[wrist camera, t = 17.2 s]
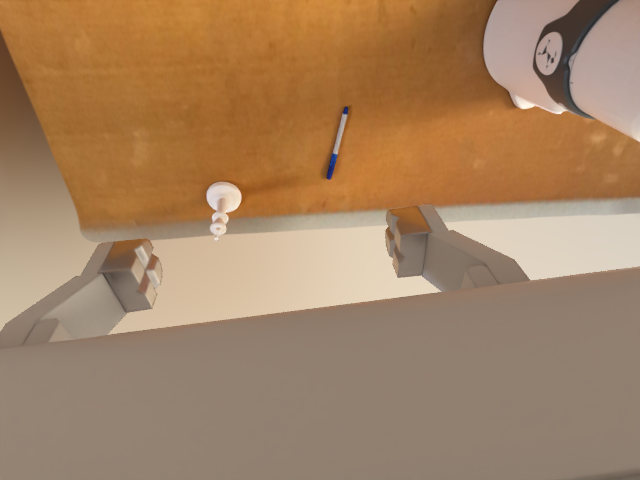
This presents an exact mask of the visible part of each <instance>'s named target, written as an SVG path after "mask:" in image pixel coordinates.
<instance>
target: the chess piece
mask: <svg viewBox="0 0 640 480" xmlns="http://www.w3.org/2000/svg"><path fill="white" fill-rule="evenodd" d="M241 198H242V197H241V193H240V191H239V189H238V188H237V187H236V186H235V185H233V184H231V183H229V182H217V183H214V184H212V185H211V186H210V187H209V189H208V190H207V201H208V203H209V205H210V206H211V207H212V208H213V209H215V210H216V211H217V212H215V213H214V214H213V215H212V220H213V223H212V224H211V226H210V230H211V232H212V233H213V234H215V239H214V240H215V241H218V237H219V235H222V234H224V233H225V232H226V226H225V224H226V223H227V222H228V216H227V214H226V212H231V211H234V210H235V209H237V208H238V206H239V205H240V202H241Z"/></svg>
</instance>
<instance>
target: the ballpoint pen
mask: <svg viewBox="0 0 640 480" xmlns="http://www.w3.org/2000/svg"><path fill="white" fill-rule="evenodd" d="M347 115H348V107H345V109H344V111H343V114H342V118H341V122H340V126H339V130H338V134H337V138H336V142H335V146H334V150H333V153H332V157H331V161H330V165H329V169H328V173H327V179H329V180H330V179H331V177H332V174H333V170H334V166H335V163H336V159H337V155H338V154H337V153H338V149H339V146H340V142H341V138H342V134H343V130H344V126H345V122H346V118H347Z"/></svg>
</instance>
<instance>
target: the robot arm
mask: <svg viewBox="0 0 640 480" xmlns="http://www.w3.org/2000/svg"><path fill="white" fill-rule="evenodd" d="M483 52H484V60H485V64H486V67H487V69H488V71H489V73H490V75H491V76H492V78H493V79H494V80H495V81H496V82H497V83H498V84H500V85H501V86H503V87H504V88H505V89H507V90H508V91H509V93H510V96H511V98H512V101H513V103H514V104H515V105H516V106H517V107H519V108H521V109H527V108H531V107H534V106H538V107H540V108H543V109H545V110H547V111H550V112H552V113H555V114H561V113H562V112H563V111H569V112H571V113H573V114H576V115H580V116H582V117H585V118H589V119H598V120H600V121H602V122H603V123H605V124H607V125H609V126H611V127H613V128H615V129H616V130H618V131H620V132H622V133H624V134H626V135H628V136H630V137H631V138H633V139H635V140H637V141H639V142H640V0H498V1H497V2H496V4H495V6H494V8H493V10H492V12H491V15H490V17H489V20H488V23H487V26H486V30H485V35H484V43H483ZM386 221H387V223H388V226H389V227H388V228H387V229H386V237H385V238H386V246H387V251H388V253H389V256H391V257H392V258H393V267H394V269H395V272H396V274H397V277H398V278H400V277H410V276H420V275H422V276H423V277H424V278H425V279H426V280H428V281H429V282H430V283H431V284H433V285H434V286H436V287H437V288H438V289H439V290H441V291H442V292H438V293H431V294H423V295H415V296H408V297H399V298H392V299H384V300H376V301H369V302H360V303H353V304H345V305H337V306H329V307H322V308H314V309H306V310H299V311H291V312H283V313H275V314H267V315H260V316H252V317H244V318H236V319H229V320H220V321H213V322H205V323H197V324H189V325H181V326H173V327H166V328H158V329H150V330H143V331H134V332H127V333H119V334H111V335H107V334H108V333H109V332H110V331H111V330H112V329H113V328H114V327H115V326H116V325H117V324H118V322H120V320H121V319H122V318H123V317H124V316H125V315H126V314H127V313H128V312H134V311H140V310H147V309H152V308H153V305H154V302H155V299H156V296H157V293H156V291H155V288H157V287H158V286H159V285H160V283H161V280H162V267H161V263H160V261H159V259H158V257H156V256H155V255H153V254H152V251H153V246H152V244H151V242H150V240H148V239H135V240H125V241H117V242H107V243H101V244H99V245H98V246H97V248H96V250H95V252H94V253H93V255H92V257H91V258H90V260H89V262H88V263H87V265H86V267H85V269H84V270H83V272H82V274H81V276H76V277H74V278H72V279H71V280H70V281H68V282H67V283H65V284H64V285H62V286H61V287H59V288H58V289H56V290H55V291H54V292H52V293H51V294H49V295H47V296H46V297H45V298H43V299H42V300H40V301H39V302H37V303H36V304H34V305H33V306H31V307H30V308H28V309H27V310H25V311H24V312H22V313H21V314H20V315H18V316H17V317H15V318H14V319H12V320H11V321H9V322H8V323H7V324H6V325H5V326H4V328H3V329H2V331H1V332H0V480H640V267H632V268H624V269H616V270H609V271H601V272H594V273H586V274H578V275H570V276H563V277H555V278H547V279H539V280H532V281H530V279H529V278H528V277H527V275H526V274H525V273H524V272H523V270H522V269H521V268H520V266H519V265H518V264H517V262H516V261H515V260H514V259H512V258H510V257H508V256H506V255H503V254H501V253H499V252H497V251H495V250H493V249H491V248H489V247H487V246H484V245H483V244H481V243H479V242H476V241H474V240H472V239H470V238H468V237H466V236H464V235H462V234H459V233H458V232H456V231H454V230H450V231H449V230H448V229H447V228H446V226H445V224H444V222H443V221H442V219H441V218H440V216H439V215H438V213H437V211H436V210H435V208H434V207H433V205H432V204H424V205H418V206H413V207H406V208H398V209H391V210H387V214H386Z"/></svg>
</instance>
